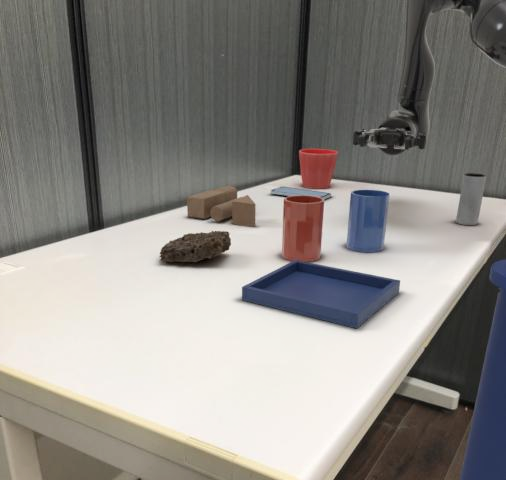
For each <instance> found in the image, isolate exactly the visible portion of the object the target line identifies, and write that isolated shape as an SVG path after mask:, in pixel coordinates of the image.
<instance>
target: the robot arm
mask: <svg viewBox="0 0 506 480" xmlns="http://www.w3.org/2000/svg"><path fill="white" fill-rule="evenodd" d="M449 11H458V12H460V13H463V14H464V15H466V16H467V17H469V35H470V39H471V41H472V44H473V45H474V46H475V47H476V48H477V49H478V51H480V52H481V53H482V54H483V55H485V57H487V58H488V59H489V60H490V61H492V62H494V63H495V64H497V65H498V66H500V67H502V68H504V69H506V0H406V19H405V20H406V21H405V40H404V41H405V45H404V47H405V48H404V60H403V68H402V74H401V78H400V84H399V89H398V92H397V93H398V94H397V103H398V105H399V106H400V107H401V108H403V109H404V110H400V109H395V110H392V111H391V112H389V114H388V115H387V117H386V119H385V120H383V121H382V122H381V123H380V124H379V126H378V127H377V128H371V129H370V130H368V131H367V130H366V129H364V128H361V129H357V130H354V131H353V134H352V145H353V146H358V145H359V147H360V148H365V147H366V146H368V147H369V148H373V149H374V148H378V149H379V150H380V151H381V152H382V153H384V154H386V155H388V156H398V155H400V154H403V153H404V152H405V151H410V150H414V149H416V147H417V148H418V149H419V150H425V149H426V146H427V139H428V137H429V135H430V131H431V130H430V129H431V124H430V123H431V121H430V109H429V108H430V107H429V106H430V98H431V93H432V89H433V86H434V81H435V76H436V63H435V62H436V61H435V58H434V56H433V53H432V50H431V48H430V45H429V43H428V39H427V26H428V22H429V19H430V16H431V15H435V14H439V13H445V12H449Z"/></svg>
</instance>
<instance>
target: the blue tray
mask: <svg viewBox="0 0 506 480" xmlns="http://www.w3.org/2000/svg"><path fill="white" fill-rule="evenodd" d="M400 286H401V280H400V279H395V278H391V277H390V278H389V277H384V276H379V275H374V274H370V273H365V272H358V271H354V270H348V269H343V268H339V267H333V266H328V265H324V264H317V263H313V262H303V261H298V260H294V261H291V262H288V263H287V264H284V265H282V266H281V267H279V268H277V269H274V270H273V271H271V272H269V273H267V274H265V275H263V276H261V277H259V278H256V279H255V280H253V281H251V282H249V283H247V284H245V285H243V286H241V300H242V301H245V302H249V303H251V304H257V305H261V306H264V307H269V308H272V309H277V310H282V311H285V312H289V313H293V314H296V315H301V316H305V317H309V318H313V319H317V320H321V321H326V322H329V323H332V324H333V323H334V324H337V325H342V326H346V327H349V328H352V329H358V328H359V327H360V326H361V325H362V324H364V323H365V322H366V321H367V320H369V319H370V318H371V317H373V316H374V315H375V314H376V313H377V312H378V311H379V310H381V308H383V307H385V305H387V304H388V303H389V302H390V301H391V300H392V299H394V298H395V297H396V296H397V295H398V294H399V293H400Z"/></svg>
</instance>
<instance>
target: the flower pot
mask: <svg viewBox="0 0 506 480" xmlns="http://www.w3.org/2000/svg"><path fill="white" fill-rule="evenodd" d="M338 154H339V151H337V150H334V149H328V148H327V149H326V148H301V149H299V150H298V157H299V166H300V175H301V183H302V186H303V187H304V188H306V189H307V188H308V189H314V190H315V189H316V190H319V189H327V188H330V186H331V183H332V179H333V175H334V172H335V168H336V163H337V159H338Z"/></svg>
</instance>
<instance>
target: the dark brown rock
mask: <svg viewBox="0 0 506 480" xmlns="http://www.w3.org/2000/svg"><path fill="white" fill-rule="evenodd" d="M231 240H232V239H231V237H230V232H229V231H223V230H222V231H221V230H215V231H214V230H212V231H209V232H196V233H191V232H190V233H186V234H184V235H183V236H181V237H178V238H176V239H173V240H169V241H168V242H167V243H166V244H164V245H163V246H162V247H161V249H160V252H159V258H160V261H161V262H164V263H165V262H169V263H174V262H182V263H183V262H185V263H186V262H187V263H197V262H199V261H202V260H203V261H204V260H205V259H209V260H210V259H213V258H215V257H218V256H220V255H221V254H222V253H225V252H228V251H229V250H230V247H231V246H232V241H231Z"/></svg>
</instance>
